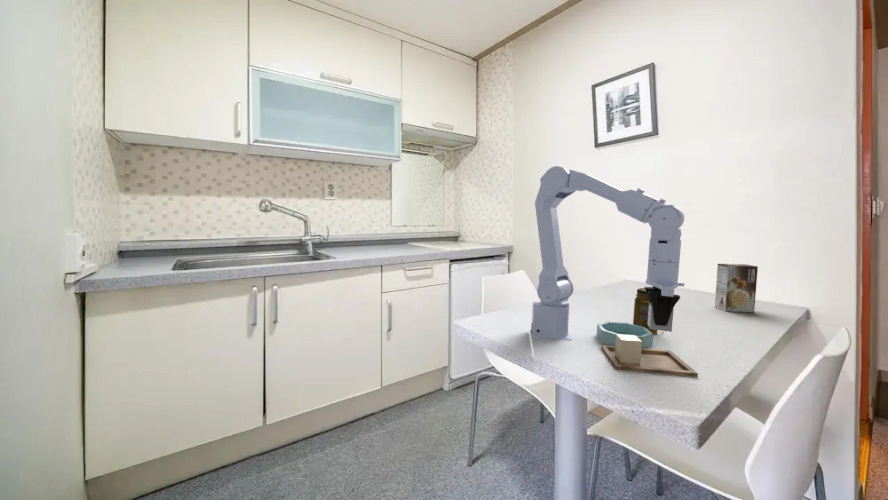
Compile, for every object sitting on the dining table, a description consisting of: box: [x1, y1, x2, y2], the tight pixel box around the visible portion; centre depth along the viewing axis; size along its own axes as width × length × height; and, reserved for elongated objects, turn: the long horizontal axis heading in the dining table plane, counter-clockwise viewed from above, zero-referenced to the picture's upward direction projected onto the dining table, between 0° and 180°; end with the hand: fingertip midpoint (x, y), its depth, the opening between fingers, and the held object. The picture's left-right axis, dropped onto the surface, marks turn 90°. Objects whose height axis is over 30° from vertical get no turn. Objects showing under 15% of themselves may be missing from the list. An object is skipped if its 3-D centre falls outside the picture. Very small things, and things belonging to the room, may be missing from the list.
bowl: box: [596, 321, 654, 349], centre depth 87 cm, size 12×12×4 cm
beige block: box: [615, 334, 642, 364], centre depth 75 cm, size 4×4×5 cm
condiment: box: [632, 287, 665, 335], centre depth 95 cm, size 7×8×12 cm
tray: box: [600, 344, 699, 378], centre depth 75 cm, size 15×12×1 cm
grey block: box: [648, 303, 674, 333], centre depth 75 cm, size 4×4×5 cm
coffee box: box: [714, 263, 759, 313], centre depth 120 cm, size 9×6×16 cm
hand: (658, 322), depth 76 cm, fingers closed on grey block, 4 cm apart
